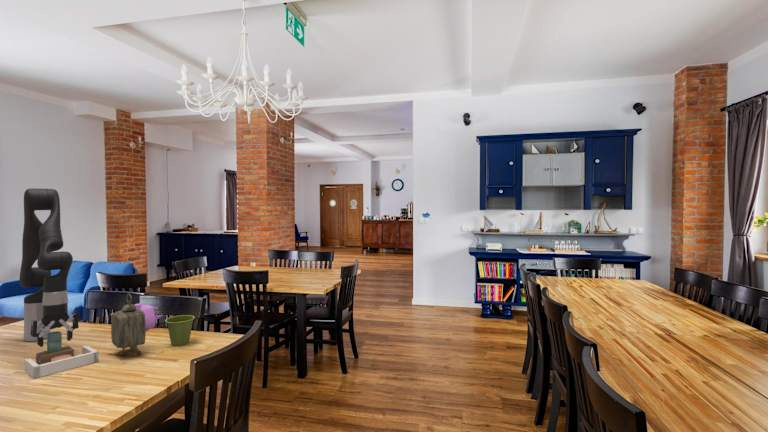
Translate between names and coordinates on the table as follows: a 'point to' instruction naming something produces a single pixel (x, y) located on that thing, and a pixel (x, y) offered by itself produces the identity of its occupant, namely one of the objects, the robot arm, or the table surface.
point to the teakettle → (148, 315)
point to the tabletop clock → (128, 327)
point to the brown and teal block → (53, 348)
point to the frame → (62, 363)
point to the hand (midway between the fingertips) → (55, 343)
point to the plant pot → (180, 329)
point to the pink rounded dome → (60, 357)
